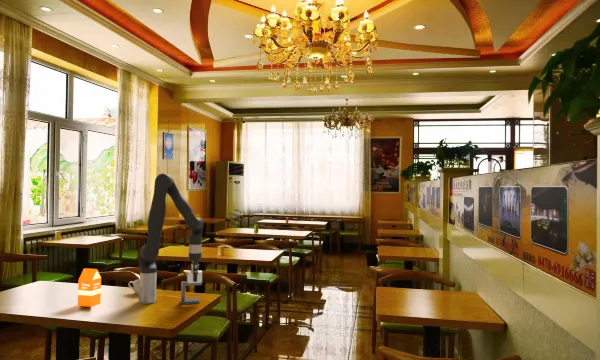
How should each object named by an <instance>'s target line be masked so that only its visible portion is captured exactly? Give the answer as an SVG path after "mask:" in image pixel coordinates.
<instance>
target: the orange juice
mask: <svg viewBox="0 0 600 360" xmlns="http://www.w3.org/2000/svg"><path fill="white" fill-rule="evenodd" d="M77 283H78V285H77V286H78V287H77V288H78V289H77V306H78V307H79V306H80V307H90V308H91V307H96V306H98V305H100V304H101V296H102V295H101V293H102V275H101V274H100V272H99V270H98V269H97V268H83V270H82V272H81V274H80V276H79V278H78V282H77Z"/></svg>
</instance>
